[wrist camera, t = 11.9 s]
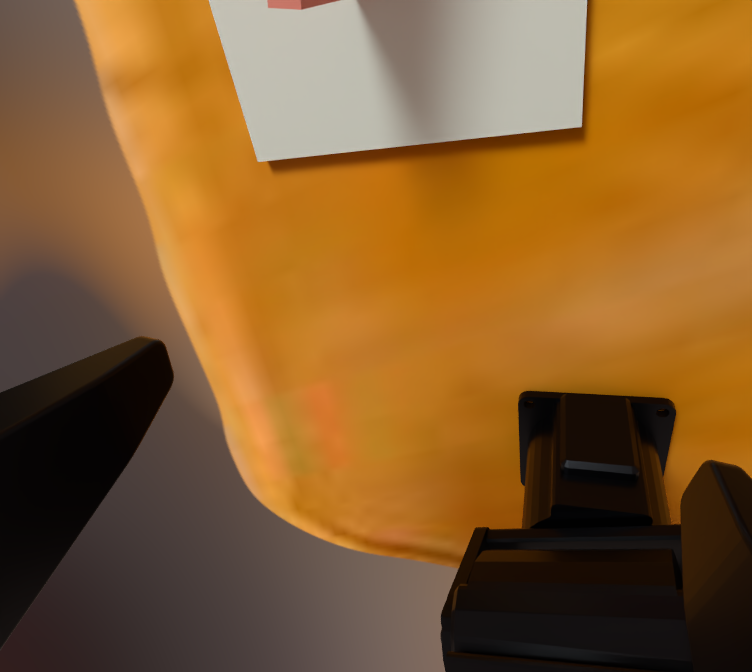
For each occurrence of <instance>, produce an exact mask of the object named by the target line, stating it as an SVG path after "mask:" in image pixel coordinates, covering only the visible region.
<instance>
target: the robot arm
mask: <svg viewBox="0 0 752 672" xmlns="http://www.w3.org/2000/svg"><path fill="white" fill-rule="evenodd" d="M173 379H174V373H173V369H172V366H171V362H170V359H169V355H168V352H167V349H166V346H165V344H164V343H163V342H162V341H161V340H159V339H154V338H150V337H144V336H140V337H136V338H134V339H131V340H129V341H126V342H124V343H121V344H119V345H117V346H114V347H111V348H109V349H107V350H104V351H102V352H99V353H97V354H94V355H92V356H89V357H87V358H85V359H82V360H80V361H77V362H74V363H72V364H70V365H67V366H65V367H62V368H60V369H57V370H55V371H52V372H50V373H47V374H45V375H42V376H40V377H38V378H35V379H33V380H30V381H28V382H25V383H23V384H20V385H18V386H15V387H13V388H10V389H8V390H6V391H3V392H1V393H0V649H1V648H2V646H3V645H4V644H5V642H6V641H7V639H8V638H9V636H10V635H11V633H12V632H13V630H14V629H15V628H16V626H17V624H18V623H19V622H20V620H21V619H22V617H23V616H24V614H25V613H26V612H27V610H28V609H29V607H30V606H31V604H32V603H33V601H34V600H35V598H36V597H37V596H38V594H39V593H40V591H41V590H42V588H43V587H44V585H45V584H46V582H47V581H48V579H49V578H50V577H51V575H52V574H53V572H54V571H55V569H56V568H57V566H58V565H59V564H60V562H61V561H62V559H63V558H64V556H65V555H66V553H67V552H68V550H69V549H70V547H71V546H72V545H73V543H74V542H75V540H76V539H77V537H78V536H79V534H80V533H81V532H82V530H83V529H84V527H85V526H86V524H87V523H88V521H89V520H90V518H91V517H92V516H93V514H94V513H95V511H96V509H97V508H98V507H99V505H100V504H101V502H102V501H103V499H104V498H105V496H106V495H107V494H108V492H109V490H110V489H111V488H112V486H113V485H114V483H115V482H116V480H117V479H118V478H119V476H120V475H121V473H122V472H123V470H124V469H125V467H126V466H127V464H128V463H129V461H130V460H131V458H132V457H133V455H134V453H135V452H136V450H137V448H138V447H139V445H140V443H141V441H142V440H143V438H144V436H145V434H146V432H147V430H148V428H149V427H150V425H151V423H152V421H153V419H154V418H155V416H156V414H157V412H158V410H159V409H160V407H161V405H162V403H163V401H164V399H165V398H166V396H167V394H168V392H169V390H170V388H171V386H172V383H173ZM526 401H532V402H533V403H528V402H526ZM659 409H666V410H664V411H659ZM518 412H519V442H520V473H521V483H522V484H523V485H524V486H525V493H524V507H523V521H522V529H489V527H478V528H475V530H474V532H473V535H472V537H471V540H470V542H469V545H468V547H467V550H466V552H465V554H464V557H463V559H462V562H461V564H460V567H459V569H458V572H457V574H456V577H455V579H454V582H453V584H452V587H451V589H450V591H449V594H448V597H447V600H446V603H445V605H444V607H443V610H442V614H441V625H442V630H441V643H442V651H443V661H444V666H445V671H446V672H752V479H751V478H750V476H749V475H748V474H747V473H746V472H745V471H744V470H743V469H741V468H740V467H738V466H736V465H732V464H728V463H723V462H718V461H714V460H708V461H706V462H704V463H703V464H702V465H701V467H700V468H699V470H698V471H697V473H696V474H695V476H694V477H693V479H692V480H691V482H690V483H689V485H688V487H687V488H686V490H685V491H684V493H683V496H682V499H681V506H680V512H681V524H674V525H672V524H671V519H670V513H669V508H668V503H667V497H666V492H665V487H664V481H663V475H664V470H665V465H666V461H667V456H668V451H669V446H670V441H671V436H672V431H673V426H674V421H675V416H676V410H675V406H674V403H673V402H672V401H671V400H669V399H665V398H653V397H634V396H615V395H596V394H578V393H559V392H540V391H525V392H523V393H521V394H520V396H519V402H518Z"/></svg>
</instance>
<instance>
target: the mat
mask: <svg viewBox="0 0 752 672" xmlns="http://www.w3.org/2000/svg"><path fill="white" fill-rule="evenodd" d="M209 3H210V6H211V10H212V13H213V16H214V19H215V23H216V26H217V29H218V33H219V36H220V39H221V42H222V46H223V49H224V52H225V55H226V59H227V62H228V65H229V68H230V72H231V75H232V78H233V81H234V85H235V88H236V91H237V95H238V98H239V101H240V104H241V108H242V111H243V114H244V117H245V121H246V124H247V127H248V130H249V134H250V137H251V140H252V144H253V147H254V150H255V153H256V157H257V160H258V162H262V161H271V160H280V159H290V158H299V157H308V156H317V155H327V154H336V153H345V152H354V151H364V150H373V149H382V148H391V147H401V146H410V145H419V144H428V143H438V142H447V141H456V140H465V139H474V138H484V137H493V136H502V135H511V134H521V133H530V132H539V131H548V130H558V129H567V128H576V127H582V109H583V86H584V63H585V40H586V17H587V0H340V1H336V2H332V3H327V4H323V5H319V6H315V7H311V8H307V9H303V10H296V9H278V8H268V2H267V0H209Z"/></svg>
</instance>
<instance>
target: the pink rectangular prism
mask: <svg viewBox="0 0 752 672" xmlns="http://www.w3.org/2000/svg"><path fill="white" fill-rule="evenodd" d="M336 1H340V0H267V2H268V8H278V9H296V10H303V9H307V8H311V7H315V6H319V5H323V4H327V3H332V2H336Z"/></svg>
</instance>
